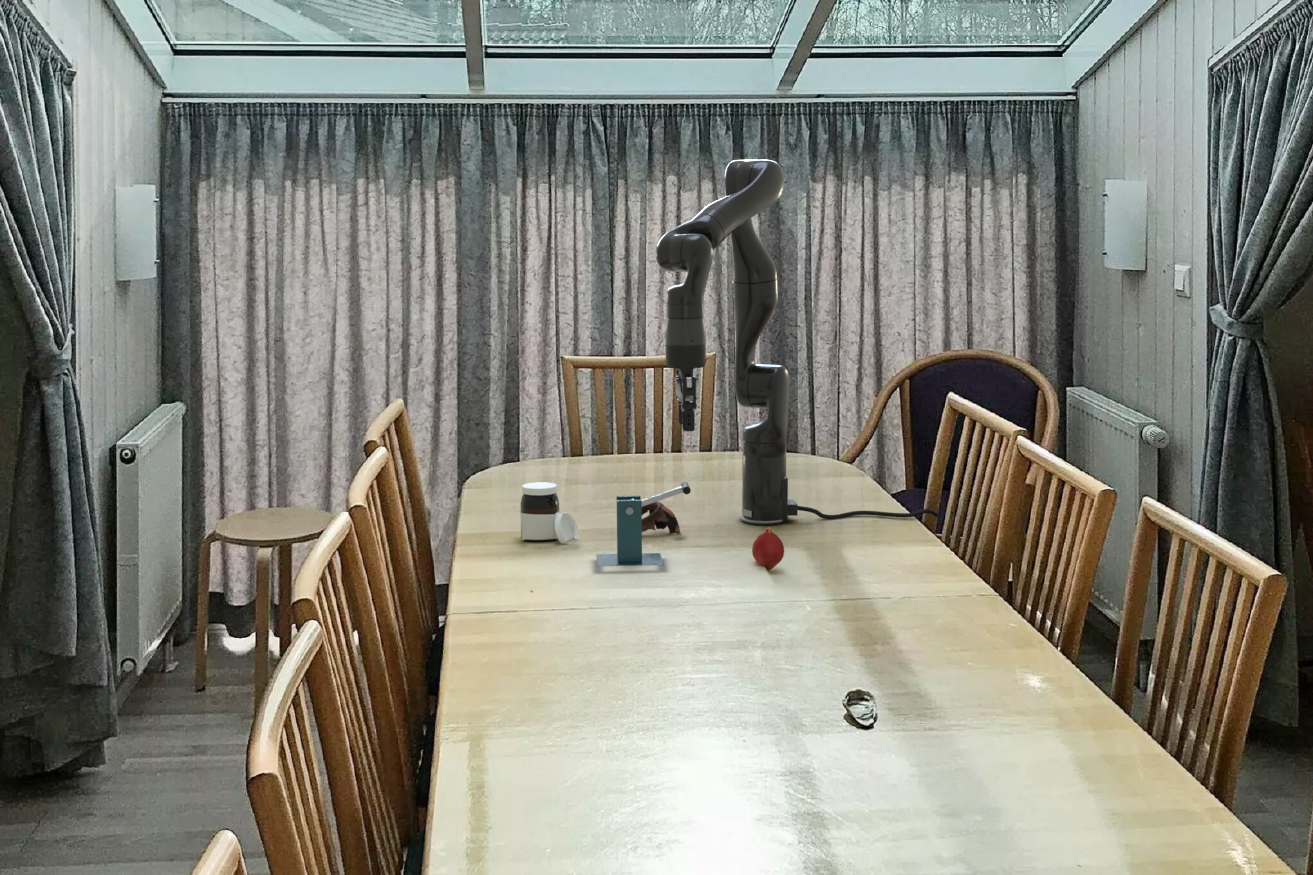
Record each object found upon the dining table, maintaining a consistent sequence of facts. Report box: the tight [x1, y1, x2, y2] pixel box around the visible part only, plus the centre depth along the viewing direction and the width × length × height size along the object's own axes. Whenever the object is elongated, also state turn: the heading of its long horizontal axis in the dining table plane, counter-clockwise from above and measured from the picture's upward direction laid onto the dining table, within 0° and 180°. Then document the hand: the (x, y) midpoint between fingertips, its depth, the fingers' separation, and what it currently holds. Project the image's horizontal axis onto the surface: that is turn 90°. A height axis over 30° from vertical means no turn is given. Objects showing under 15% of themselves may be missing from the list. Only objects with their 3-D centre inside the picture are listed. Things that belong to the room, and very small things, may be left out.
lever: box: [630, 481, 692, 506], centre depth 253 cm, size 13×5×2 cm, turn 91°
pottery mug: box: [642, 501, 682, 536], centre depth 279 cm, size 12×10×8 cm
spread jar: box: [519, 481, 579, 545], centre depth 272 cm, size 12×11×12 cm
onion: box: [751, 527, 785, 571], centre depth 251 cm, size 6×6×8 cm
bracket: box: [596, 494, 664, 567], centre depth 254 cm, size 12×9×13 cm
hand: (686, 427), depth 261 cm, fingers open, 8 cm apart
